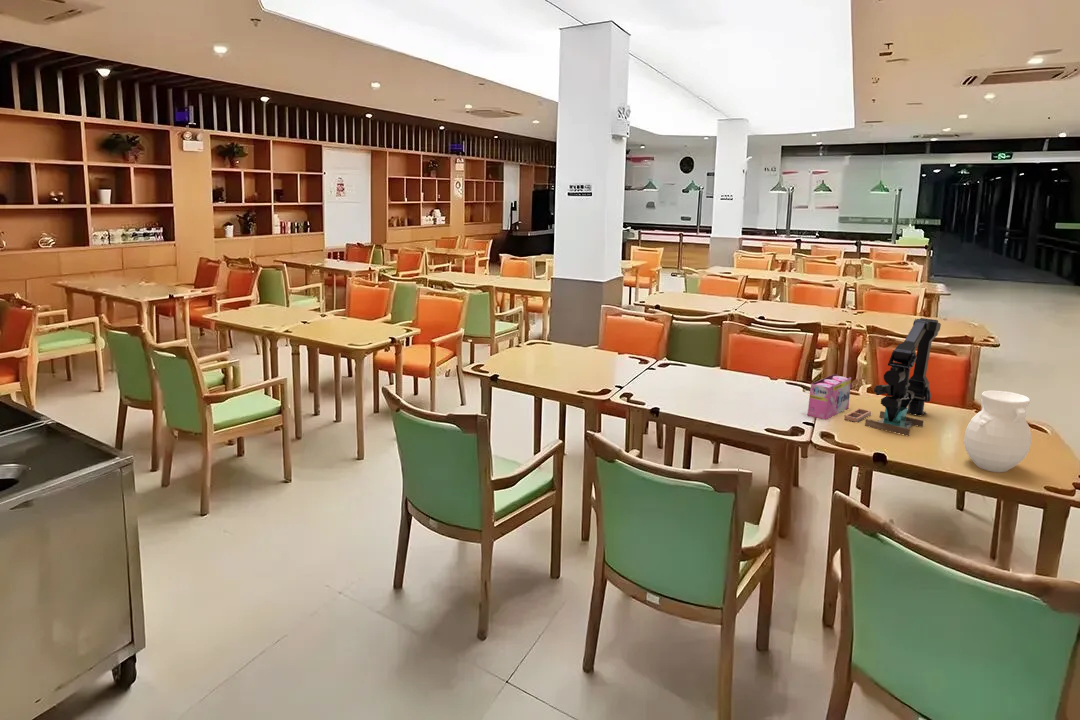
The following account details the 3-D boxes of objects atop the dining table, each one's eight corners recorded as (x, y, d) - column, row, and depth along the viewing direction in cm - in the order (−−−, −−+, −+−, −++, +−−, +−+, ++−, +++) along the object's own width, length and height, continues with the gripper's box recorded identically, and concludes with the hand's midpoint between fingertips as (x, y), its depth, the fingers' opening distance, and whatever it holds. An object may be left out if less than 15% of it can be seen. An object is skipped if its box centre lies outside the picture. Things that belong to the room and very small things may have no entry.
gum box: (831, 403, 302) (835, 373, 299) (850, 407, 296) (854, 376, 293) (806, 415, 286) (810, 383, 282) (825, 420, 280) (829, 387, 277)
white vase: (1039, 477, 226) (1053, 403, 220) (985, 478, 225) (998, 404, 219) (998, 455, 244) (1010, 387, 238) (947, 456, 243) (959, 387, 237)
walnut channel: (880, 416, 285) (881, 411, 284) (922, 426, 274) (923, 420, 273) (864, 425, 274) (865, 419, 273) (908, 436, 263) (909, 429, 262)
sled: (886, 418, 281) (889, 401, 280) (913, 424, 274) (915, 407, 273) (874, 425, 273) (876, 408, 271) (901, 432, 266) (904, 414, 264)
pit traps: (858, 412, 290) (858, 408, 289) (870, 415, 286) (871, 411, 286) (844, 419, 280) (844, 415, 280) (856, 422, 277) (857, 418, 276)
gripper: (887, 372, 281) (882, 409, 285) (869, 380, 268) (864, 419, 272) (917, 377, 273) (911, 415, 277) (900, 386, 261) (894, 426, 264)
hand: (894, 418), depth 273 cm, fingers open, 9 cm apart
